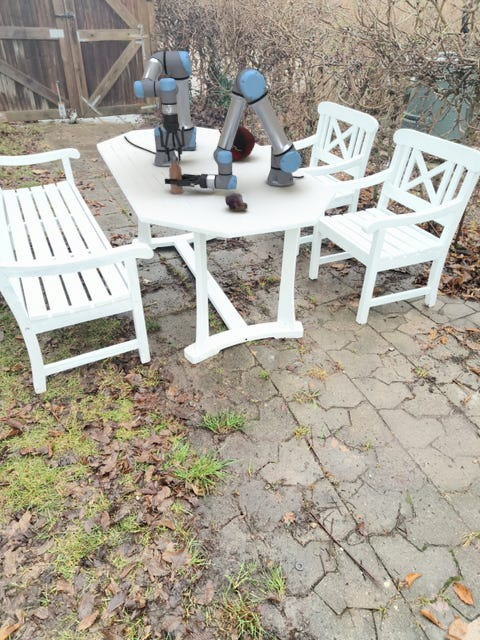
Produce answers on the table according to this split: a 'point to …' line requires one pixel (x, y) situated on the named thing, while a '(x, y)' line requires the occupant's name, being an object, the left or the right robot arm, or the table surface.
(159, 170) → the table surface
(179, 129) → the left robot arm
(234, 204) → the rock
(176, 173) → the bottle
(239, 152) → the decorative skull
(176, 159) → the cap
